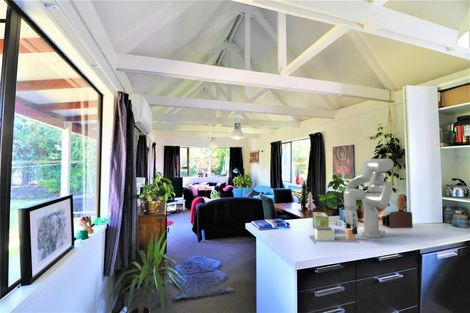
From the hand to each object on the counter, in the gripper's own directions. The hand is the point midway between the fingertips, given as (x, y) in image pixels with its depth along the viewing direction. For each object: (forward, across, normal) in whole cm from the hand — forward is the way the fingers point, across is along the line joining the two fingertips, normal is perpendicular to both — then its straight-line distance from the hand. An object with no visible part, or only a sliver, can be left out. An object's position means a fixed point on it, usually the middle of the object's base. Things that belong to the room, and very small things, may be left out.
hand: (351, 231), depth 162 cm
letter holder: (+10, +38, -55) cm, 67 cm away
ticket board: (+5, -1, +13) cm, 14 cm away
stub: (+5, -1, +1) cm, 5 cm away
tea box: (+6, +18, +16) cm, 25 cm away
